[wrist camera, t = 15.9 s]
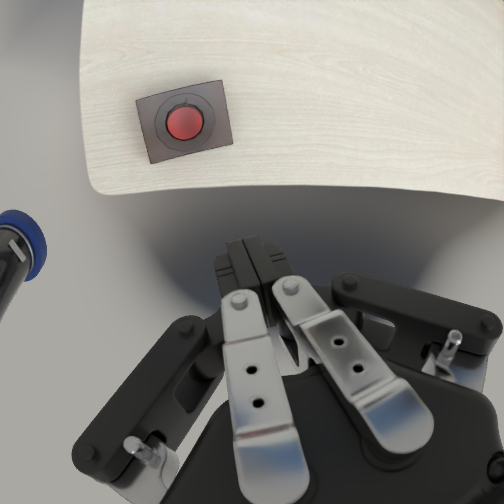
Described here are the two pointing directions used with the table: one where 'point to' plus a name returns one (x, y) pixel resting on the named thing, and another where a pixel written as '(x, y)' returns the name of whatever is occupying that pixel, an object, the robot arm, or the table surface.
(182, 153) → the block
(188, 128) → the release button
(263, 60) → the table surface
